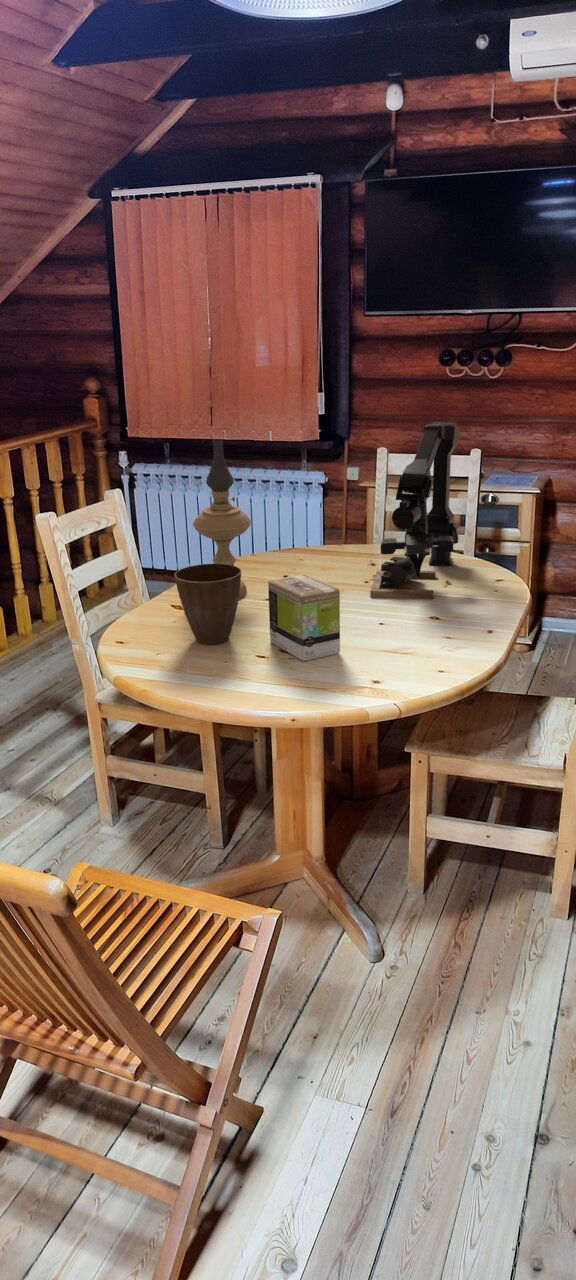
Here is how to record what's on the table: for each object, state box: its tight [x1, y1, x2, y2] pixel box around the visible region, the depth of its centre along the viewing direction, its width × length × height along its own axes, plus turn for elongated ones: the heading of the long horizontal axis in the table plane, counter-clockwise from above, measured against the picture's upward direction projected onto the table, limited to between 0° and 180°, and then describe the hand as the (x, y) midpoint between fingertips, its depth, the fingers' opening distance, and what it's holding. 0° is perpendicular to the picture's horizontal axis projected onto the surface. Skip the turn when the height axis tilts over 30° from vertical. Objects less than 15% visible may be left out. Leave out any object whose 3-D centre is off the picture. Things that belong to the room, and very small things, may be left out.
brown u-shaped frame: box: [369, 568, 437, 600], centre depth 250 cm, size 20×16×2 cm
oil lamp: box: [192, 439, 252, 599], centre depth 241 cm, size 15×15×40 cm
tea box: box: [267, 574, 341, 662], centre depth 206 cm, size 15×10×15 cm
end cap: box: [380, 556, 417, 589], centre depth 251 cm, size 10×7×7 cm
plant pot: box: [173, 563, 242, 646], centre depth 213 cm, size 15×15×16 cm
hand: (418, 576), depth 249 cm, fingers closed
